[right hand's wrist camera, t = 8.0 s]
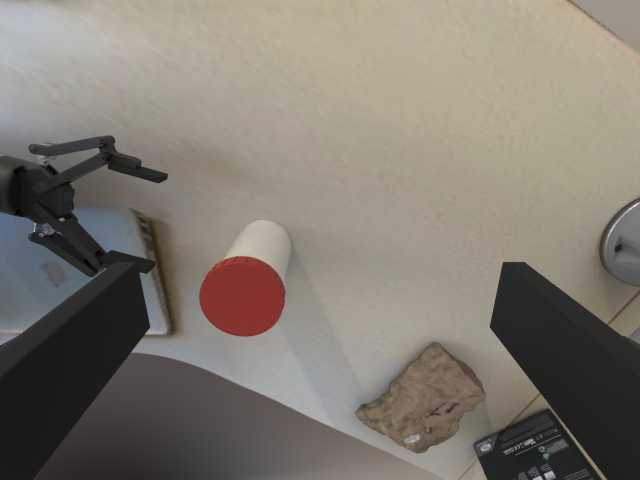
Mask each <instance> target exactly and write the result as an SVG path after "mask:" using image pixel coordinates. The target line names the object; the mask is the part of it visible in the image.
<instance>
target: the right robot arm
mask: <svg viewBox="0 0 640 480" xmlns="http://www.w3.org/2000/svg"><path fill="white" fill-rule="evenodd" d="M600 257H601V261H602V264H603V266H604V267H605V269H606V270H607V271H608V272H609V273H610V274H611V275H613V276H614V277H616V278H618V279H619V280H621V281H623V282H625V283H628V284H631V285H634V286H638V287H640V198H638V199H636V200H634V201H632V202H631V203H629V204H628V205H626V206H625V207H624V208H623V209H621V210H620V211H619V212H618V213H617V214H616V215H615V216H614V217H613V219H612V220H611V221H610V223H609V224H608V226H607V227H606V229H605V231H604V234H603V236H602V239H601V243H600ZM149 328H150V324H149V319H148V314H147V309H146V304H145V299H144V294H143V289H142V284H141V280H140V275H139V270H138V265H137V262H115V263H114V264H113V265H111V266H110V267H109V268H107V269H106V270H105V271H103V272H102V273H101V274H99V275H98V276H97V277H95V278H94V279H93V280H91V281H90V282H89V283H87V284H86V285H85V286H84V287H82V288H81V289H80V290H78V291H77V292H76V293H74V294H73V295H72V296H70V297H69V298H68V299H66V300H65V301H64V302H62V303H61V304H60V305H58V306H57V307H56V308H55V309H53V310H52V311H51V312H49V313H48V314H47V315H45V316H44V317H43V318H41V319H40V320H39V321H37V322H36V323H35V324H33V325H32V326H31V327H29V328H28V329H27V330H26V331H24V332H23V333H22V334H20V335H19V336H18V337H16V338H14V339H12V340H10V341H8V342H6V343H4V344H2V345H0V480H33V479H34V477H35V476H36V475H37V473H38V472H39V471H40V470H41V468H42V467H43V466H44V464H45V463H46V462H47V460H48V459H49V458H50V457H51V455H52V454H53V453H54V451H55V450H56V449H57V447H58V446H59V445H60V444H61V442H62V441H63V440H64V438H65V437H66V436H67V434H68V433H69V432H70V431H71V429H72V428H73V427H74V425H75V424H76V423H77V422H78V420H79V419H80V418H81V416H82V415H83V414H84V412H85V411H86V410H87V409H88V407H89V406H90V405H91V403H92V402H93V401H94V399H95V398H96V397H97V396H98V394H99V393H100V392H101V390H102V389H103V388H104V387H105V385H106V384H107V383H108V381H109V380H110V379H111V377H112V376H113V375H114V374H115V372H116V371H117V370H118V368H119V367H120V366H121V364H122V363H123V362H124V361H125V359H126V358H127V357H128V355H129V354H130V353H131V352H132V350H133V349H134V348H135V346H136V345H137V344H138V342H139V341H140V340H141V339H142V337H143V336H144V335H145V333H146V332H147V331H148V329H149ZM490 328H491V329H492V331H493V332H494V333H495V335H496V336H497V337H498V339H499V340H500V341H501V342H502V344H503V345H504V346H505V348H506V349H507V350H508V352H509V353H510V354H511V355H512V357H513V358H514V359H515V361H516V362H517V363H518V364H519V366H520V367H521V368H522V370H523V371H524V372H525V374H526V375H527V376H528V377H529V379H530V380H531V381H532V383H533V384H534V385H535V387H536V388H537V389H538V390H539V392H540V393H541V394H542V396H543V397H544V398H545V399H546V401H547V402H548V403H549V405H550V406H551V407H552V409H553V410H554V411H555V412H556V414H557V415H558V416H559V418H560V419H561V420H562V422H563V423H564V424H565V425H566V427H567V428H568V429H569V431H570V432H571V433H572V435H573V436H574V437H575V438H576V440H577V441H578V442H579V444H580V445H581V446H582V447H583V449H584V450H585V451H586V453H587V454H588V455H589V457H590V458H591V459H592V460H593V462H594V463H595V464H596V466H597V467H598V468H599V470H600V471H601V472H602V473H603V475H604V476H605V477H606V479H607V480H640V327H639V328H638V329H637V330H636V331H634V332H633V333H632V334H631V335H630V336H629V337H628V338H627V337H625V336H621V335H620V334H618V333H617V332H616V331H614V330H613V329H612V328H611V327H609V326H608V325H607V324H605V323H604V322H603V321H601V320H600V319H599V318H597V317H596V316H595V315H593V314H592V313H591V312H589V311H588V310H587V309H585V308H584V307H583V306H582V305H580V304H579V303H578V302H576V301H575V300H574V299H572V298H571V297H570V296H568V295H567V294H566V293H564V292H563V291H562V290H560V289H559V288H558V287H556V286H555V285H554V284H553V283H551V282H550V281H549V280H547V279H546V278H545V277H543V276H542V275H541V274H539V273H538V272H537V271H535V270H534V269H533V268H531V267H530V266H529V265H527V264H526V263H525V262H503V265H502V270H501V275H500V279H499V284H498V289H497V294H496V299H495V304H494V309H493V314H492V319H491V324H490Z"/></svg>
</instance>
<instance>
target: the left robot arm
mask: <svg viewBox="0 0 640 480" xmlns="http://www.w3.org/2000/svg"><path fill="white" fill-rule="evenodd" d="M114 143H115V139H114V137H113V136H101V137H95V138H89V139H84V140H79V141H74V142H69V143H64V144H58V145H57V144H51V143H39V144H31V145H29V148H28V149H29V151H30V152H31V153H32V154H35V159H36V164H34V163H32V162H28V161H24V160H21V159H17V158H14V157H10V156H4V155H2V154H0V212H2V213H5V214H9V215H13V216H18V217H26V218H29V219H30V220H32V221H33V222H34V223H35V228H34V233H31V234H29V236H28V238H29V240H30V241H32V242H34V243H37V244H40V245H43V246H45V247H47V248H48V249H49V250H51V251H52V252H54V253H55V254H57V255H58V256H60V257H61V258H62V259H64V260H65V261H67V262H68V263H70V264H71V265H73V266H74V267H75V268H77V269H78V270H80V271H81V272H83V273H84V274H86V275H87V276H89V277H94V276H95V275H96V274H98V273H99V272H101V271H102V270H103V269H104V268H109V267H110V266H111V265H113V264H114V263H115V262H137V265H138V270H139V272H141V273H145V274H147V273H148V272H149V271H150V270H151V269H152V268H153V267H154V266H155V263H156V261H152V260H148V259H144V258H140V257H136V256H132V255H129V254H125V253H121V252H117V251H113V250H111V251H109V252H108V253H106V252H105V251H104V250H103V249H102V248H101V246H100V245H99V244H98V243H97V242H96V241H95V240H94V239H93V238H92V237H91V236H90V235H89V234H88V233H87V232H86V231H85V229H84V228H83V227H82V226H81V225H80V224H79V223H78V219H77V217H76V216H75V215H74V214H73V213H72V212H71V211H72V210H74V203H73V197H74V191H75V189H73V188H72V186H71V184H70V183H71V182H73V181H75V180H77V179H79V178H80V177H82V176H84V175H86V174H88V173H90V172H92V171H94V170H96V169H98V168H100V167H102V166H104V165H106V164H108V169H110V170H113V171H117V172H120V173H124V174H127V175H131V176H135V177H138V178H142V179H145V180H149V181H152V182H156V183H160V182H163V181H165V180H167V178H168V174H166V173H162V172H159V171H155V170H152V169H148V168H145V167H141V162H142V161H141V160H140V159H138V158H136V157H132V156H129V155H125V154H122V153H119V152H117V151H116V149H115V146H114ZM98 147H99V149H100V153H98V155H96V156H94V157H92V158H90V159H88V160H86V161H84V162H82V163H80V164H78V165H76V166H74V167H72V168H70V169H68V170H66V171H64V172H62V173H59V172H58V171H57V170H56V169H55V168H54V167H53V166H51V165H50V164H49V161H51V160H55V159H56V157H57V156H58V155H61V154H67V153H72V152H77V151H83V150H88V149H93V148H98ZM62 217H63V218H64V219H65V221H63V222H61V221H59V220H58V219H60V218H62ZM47 223H48V224H49V225H50V226H51V227H52V228H50V227H49V226H48V224H47ZM55 231H58V232H60V233H61V234H62V235H63V236H62V235H61V234H59V233H57V232H55Z"/></svg>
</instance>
